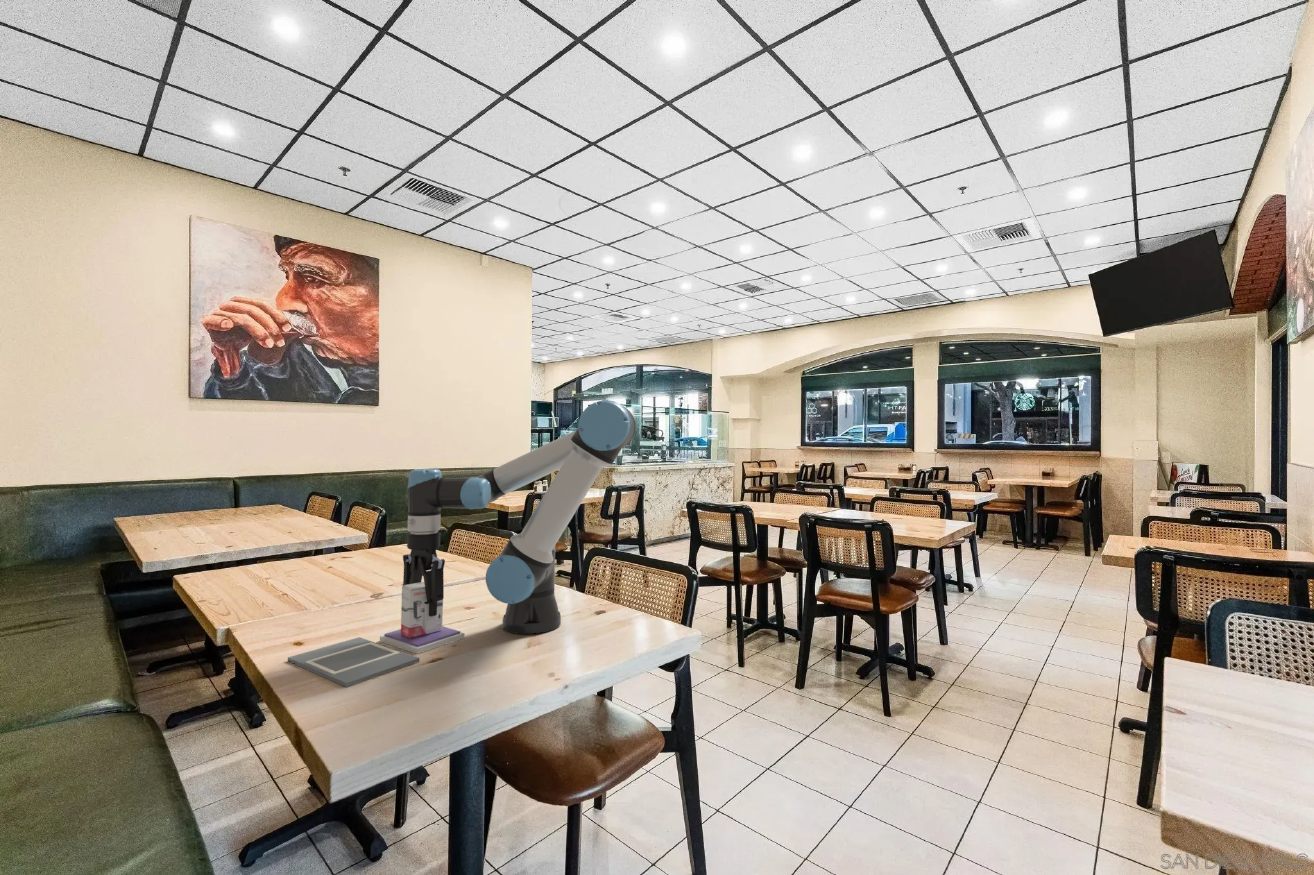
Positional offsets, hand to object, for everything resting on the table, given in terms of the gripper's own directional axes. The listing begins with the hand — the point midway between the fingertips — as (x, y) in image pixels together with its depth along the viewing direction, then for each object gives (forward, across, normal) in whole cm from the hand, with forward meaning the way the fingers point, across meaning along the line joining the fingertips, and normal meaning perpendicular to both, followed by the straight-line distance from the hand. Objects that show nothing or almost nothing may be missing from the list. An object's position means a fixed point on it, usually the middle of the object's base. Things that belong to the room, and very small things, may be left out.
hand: (422, 626), depth 139 cm
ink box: (+2, 0, 0) cm, 2 cm away
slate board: (+3, 0, -17) cm, 17 cm away
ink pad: (+3, 0, 0) cm, 3 cm away
